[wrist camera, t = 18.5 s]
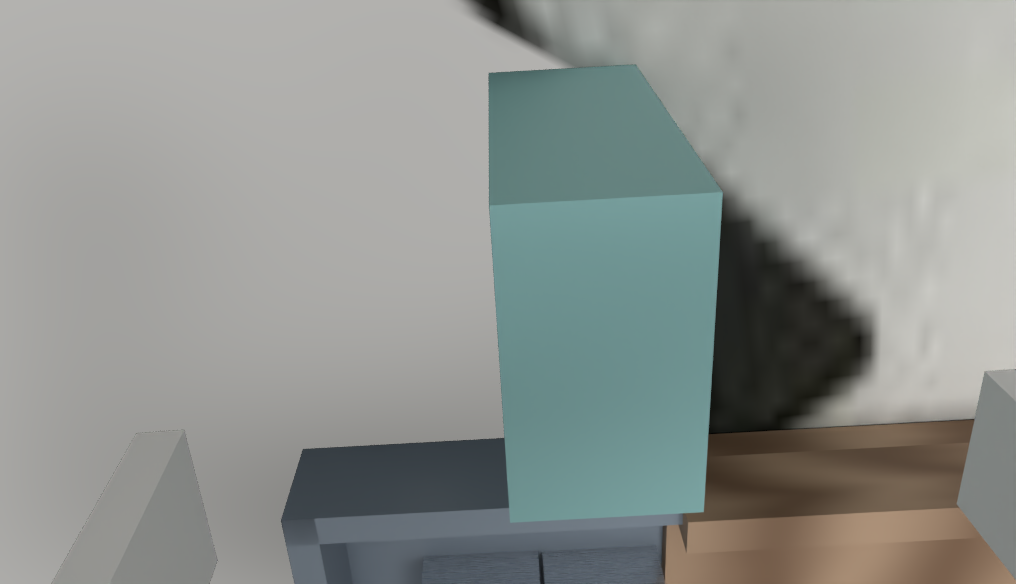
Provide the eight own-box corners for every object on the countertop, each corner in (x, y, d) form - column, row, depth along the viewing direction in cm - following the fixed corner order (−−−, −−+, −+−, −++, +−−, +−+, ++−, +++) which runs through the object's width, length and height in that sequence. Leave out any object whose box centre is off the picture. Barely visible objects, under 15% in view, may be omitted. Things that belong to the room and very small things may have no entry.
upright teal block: (502, 301, 27) (510, 522, 18) (488, 72, 24) (488, 205, 15) (633, 294, 27) (703, 512, 18) (635, 64, 24) (722, 191, 15)
